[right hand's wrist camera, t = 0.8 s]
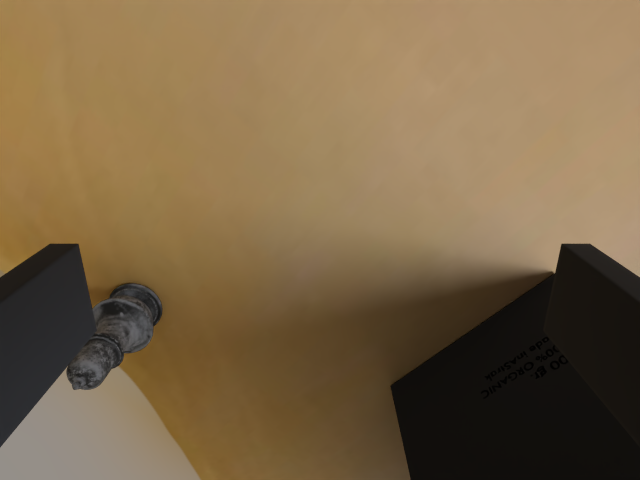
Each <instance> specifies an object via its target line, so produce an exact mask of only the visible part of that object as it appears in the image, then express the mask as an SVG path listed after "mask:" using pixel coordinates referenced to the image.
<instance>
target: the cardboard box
mask: <svg viewBox="0 0 640 480" xmlns="http://www.w3.org/2000/svg"><path fill="white" fill-rule="evenodd" d="M554 277H555V274H553V275H552V276H550V277H549V278H547V279H546V280H545V281H543V282H542V283H540V284H539V285H537V286H536V287H534V288H533V289H531V290H530V291H528V292H527V293H526V294H524V295H523V296H521V297H520V298H518V299H517V300H515V301H514V302H512V303H511V304H510V305H508V306H507V307H505V308H504V309H502V310H501V311H499V312H498V313H496V314H495V315H493V316H492V317H491V318H489V319H488V320H486V321H485V322H483V323H482V324H480V325H479V326H477V327H476V328H475V329H473V330H472V331H470V332H469V333H467V334H466V335H464V336H463V337H461V338H460V339H458V340H457V341H456V342H454V343H453V344H451V345H450V346H448V347H447V348H445V349H444V350H442V351H441V352H439V353H438V354H437V355H435V356H434V357H432V358H431V359H429V360H428V361H426V362H425V363H423V364H422V365H421V366H419V367H418V368H416V369H415V370H413V371H412V372H410V373H409V374H407V375H406V376H404V377H403V378H402V379H400V380H399V381H397V382H396V383H394V384H393V385H391V390H392V395H393V400H394V404H395V409H396V413H397V418H398V423H399V427H400V432H401V436H402V441H403V446H404V450H405V455H406V459H407V464H408V469H409V473H410V478H411V480H640V447H639V446H638V445H637V443H636V442H635V441H634V440H633V439H632V437H631V436H630V435H629V434H628V432H627V431H626V430H625V429H624V428H623V426H622V425H621V424H620V423H619V422H618V420H617V419H616V418H615V417H614V416H613V414H612V413H611V412H610V411H609V410H608V408H607V407H606V406H605V405H604V404H603V402H602V401H601V400H600V399H599V398H598V396H597V395H596V394H595V393H594V391H593V390H592V389H591V388H590V387H589V385H588V384H587V383H586V382H585V381H584V379H583V378H582V377H581V376H580V375H579V373H578V372H577V371H576V370H575V369H574V367H573V366H572V365H571V364H570V363H569V361H568V360H567V359H566V358H565V357H564V355H563V354H562V353H561V352H560V350H559V349H558V348H557V347H556V346H555V344H554V343H553V342H552V341H551V340H550V338H549V337H548V336H547V335H546V334H545V332H544V331H543V328H544V323H545V319H546V314H547V309H548V305H549V300H550V296H551V291H552V286H553V282H554Z"/></svg>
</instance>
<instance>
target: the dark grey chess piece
mask: <svg viewBox="0 0 640 480" xmlns="http://www.w3.org/2000/svg"><path fill="white" fill-rule="evenodd" d="M93 314H94V319H95V323H96V328H97V331H96V332H95V334H94V335H93V336H92V337H91V338H90V340H89V341H88V342H87V343H86V344H85V346H84V347H83V348H82V349H81V350H80V352H79V353H78V354H77V355H76V357H75V358H74V359H73V360H72V361H71V363H70V364H69V365H68V368H67V377H68V380H69V381H70V383H71V384H72V387H73V389H74V390H76V389H84V390H89V389H93V388H96V387H98V386H99V385H100V384H101V383H102V382H103V381H104V379H105V378H106V376H107V375H108V373H109V372H110V370H111V369H112V368H115V367H117V366H119V365H120V363H121V362H122V361H123V358H124V353H133V352H137V351H140V350H141V349H143V348H144V347H146V346H147V344H148V343H149V342H150V341H151V338H152V336H153V326H155V325H156V324H157V323H158V321H159V320H160V318H161V315H162V305H161V302H160V300H159V298H158V296H157V295H156V294H155V293H154V292H153V291H152V290H150V289H149V288H147V287H145V286H142V285H140V284H133V283H131V284H124V285H121V286H119V287H117V288H116V289H114V291H113V292H112V293H111V294H110V297H109V299H107V300H104V301H101V302H100V303H98V304H97V305H95V307H94V308H93Z"/></svg>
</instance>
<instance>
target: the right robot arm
mask: <svg viewBox="0 0 640 480" xmlns="http://www.w3.org/2000/svg"><path fill="white" fill-rule="evenodd" d="M96 331H97V328H96V323H95V319H94V314H93V309H92V305H91V300H90V296H89V291H88V286H87V282H86V277H85V272H84V268H83V263H82V258H81V254H80V249H79V245H78V244H49V245H48V246H46V247H45V248H43V249H42V250H40V251H39V252H37V253H36V254H34V255H33V256H31V257H30V258H28V259H27V260H25V261H24V262H22V263H21V264H19V265H18V266H17V267H15V268H14V269H12V270H11V271H9V272H8V273H6V274H5V275H3V276H2V277H0V447H1V446H2V445H3V443H4V442H5V441H6V440H7V438H8V437H9V436H10V435H11V434H12V432H13V431H14V430H15V429H16V428H17V426H18V425H19V424H20V423H21V422H22V420H23V419H24V418H25V417H26V416H27V414H28V413H29V412H30V411H31V410H32V408H33V407H34V406H35V405H36V404H37V402H38V401H39V400H40V399H41V397H42V396H43V395H44V394H45V393H46V391H47V390H48V389H49V388H50V387H51V385H52V384H53V383H54V382H55V381H56V379H57V378H58V377H59V376H60V375H61V373H62V372H63V371H64V370H65V369H66V367H67V366H68V365H69V364H70V363H71V361H72V360H73V359H74V358H75V357H76V355H77V354H78V353H79V352H80V350H81V349H82V348H83V347H84V346H85V344H86V343H87V342H88V341H89V340H90V338H91V337H92V336H93V335H94V334H95V332H96ZM543 331H544V332H545V334H546V335H547V336H548V337H549V338H550V340H551V341H552V342H553V343H554V344H555V346H556V347H557V348H558V349H559V350H560V352H561V353H562V354H563V355H564V357H565V358H566V359H567V360H568V361H569V363H570V364H571V365H572V366H573V367H574V369H575V370H576V371H577V372H578V373H579V375H580V376H581V377H582V378H583V379H584V381H585V382H586V383H587V384H588V385H589V387H590V388H591V389H592V390H593V391H594V393H595V394H596V395H597V396H598V398H599V399H600V400H601V401H602V402H603V404H604V405H605V406H606V407H607V408H608V410H609V411H610V412H611V413H612V414H613V416H614V417H615V418H616V419H617V420H618V422H619V423H620V424H621V425H622V426H623V428H624V429H625V430H626V431H627V432H628V434H629V435H630V436H631V437H632V439H633V440H634V441H635V442H636V443H637V445H638V446H639V447H640V277H638V276H637V275H635V274H634V273H632V272H631V271H629V270H628V269H626V268H625V267H623V266H622V265H621V264H619V263H618V262H616V261H615V260H613V259H612V258H610V257H609V256H607V255H606V254H604V253H603V252H601V251H600V250H598V249H597V248H595V247H594V246H592V245H591V244H562V245H561V249H560V254H559V258H558V263H557V268H556V272H555V277H554V282H553V286H552V291H551V296H550V300H549V305H548V309H547V314H546V319H545V323H544V328H543Z"/></svg>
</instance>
